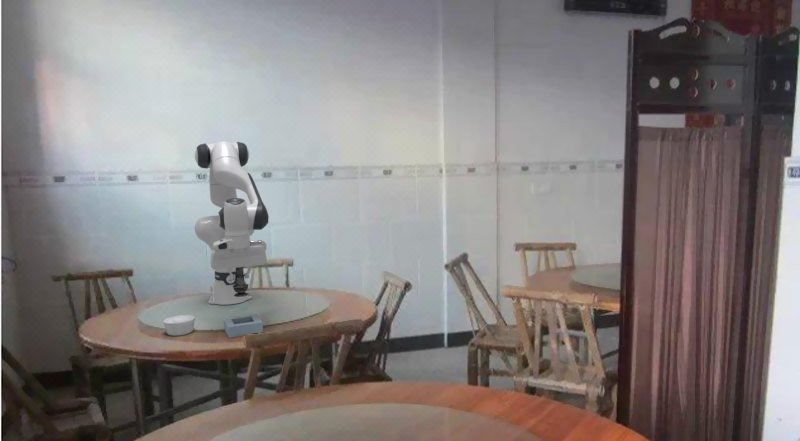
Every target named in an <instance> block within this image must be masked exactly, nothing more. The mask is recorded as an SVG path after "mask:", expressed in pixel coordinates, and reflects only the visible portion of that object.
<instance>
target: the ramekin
mask: <svg viewBox="0 0 800 441" xmlns="http://www.w3.org/2000/svg"><path fill="white" fill-rule="evenodd" d="M195 321H196V317H195V316H194V315H191V314H180V315H179V314H178V315H173V316H170V317H167V318H164V320H163V321H162V322H163V325H164V328H165V331H166V334H167V335H168V336H174V337H175V336H177V337H178V336H184V335H188V334H191V333H192V332H193V331H194V329H195V328H194V327H195Z"/></svg>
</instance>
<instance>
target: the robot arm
mask: <svg viewBox="0 0 800 441" xmlns="http://www.w3.org/2000/svg"><path fill="white" fill-rule="evenodd" d="M249 158H250V151H249V148H248V147H247V145H246V144H245V143H244V142H241V141H239V142H238V141H236V142H233V141H226V140H222V141H219V142H210V143H201V144H199V145H197V147H196V149H195V152H194V159H195V163H197V166H198V167H199V168H200V169H206V170H207V169H209V171H208V172H209V174H208V175H209V176H208V177H209V179H208V181H209V198H210V201H211V203H212V204H213V205H214V206H216V207H219V208H220V210H219V211H218V212H217V213H218V215H208V216H203V217H200V218H198V219H197V220H196V222H195V226H194V233H195V235H196V237H197V238H198V239H199V240H201V241H202V242H203V243H205V244H206V245H207V246H208V247H209V248H210V250H211V252H210V254H211V255H210V268H211V269H212V270H214V280H215V281H214V282H213V284H212V285H211V286H210V288H209V290H210V292H211V294H210V297H209V299H208V304H209V305H211V304H212V305H221V306H225V305H226V306H227V305H235V304H236V305H237V304H240V303H244V302H246V301H247V300H251V299H252V298H253V297H252V295H250V294H248V295H247V296H242V297H236V296H234V295H235V294H236V293H237V292H235V291H234V288H233V285H235V284H236V277H235V276H236V268H238V267H243V268H244V267H245V268H246V269H247V270H246V272H244V275H245V276H244V281H245V283H246V284H247V281H246V280H245V279H250V273H251V271H252V267H256V266H264V265H266V264H267V262H268V259H267V254H266V251H267V243H266V242H265V241H264V240H263V241H262V240H261V239H260V240H251V239H250V238H251V236H252V235H253V234H254V233H255V231H256V230H257V231H260V230H263V229H264V228H266V226H267V225H268V224H269V219H270V218H269V212H268V210H267V208H266V205H265V203H264V201H263V200H262V198H261V195H260V192H259V190H258V187H257V185H256V182H255V180H254V179H253V178H254V177H253V176H252V174H251V173H249V172H248V171H246V170H244V168H243V167H245V166H246V165H247V164H248V162H249ZM237 190H239V191H241V192H244V193H245V194H246V195H247V196H246V197H247V198H248V201H249V203H250V204H247V201H246V199H244V198H242V197H241V198H240V197H238V195H237ZM246 293H248V290H247V291H246Z"/></svg>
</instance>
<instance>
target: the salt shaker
mask: <svg viewBox="0 0 800 441" xmlns="http://www.w3.org/2000/svg"><path fill="white" fill-rule="evenodd" d="M244 273H245V272H244V267H238V268H236V276H235V277H236V284H235V285H233V288H234V291H235V292H237V293H236V294H235V295H234V296H236V297H242V296H247V295H249V293H248V289H249V284H248V283H247V282H246V283H245V281H246V280H245V277H244V276H245V275H244ZM244 280H245V281H244ZM246 291H247V293H246Z"/></svg>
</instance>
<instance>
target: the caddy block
mask: <svg viewBox="0 0 800 441" xmlns="http://www.w3.org/2000/svg"><path fill="white" fill-rule="evenodd" d="M224 328H225V329H224ZM223 329H224V331H225V333H226V335H227V337H228V339H229V338H237V337H242V336H244V337H245V336H246V335H245V334H251V333H258V334H260V333H259V332H263V333H264V322H263V321H262V320H261V318H260V316H259V315H258V314H257V313H254V314H247V315H239V316H233V317H225V318H223ZM251 335H252V334H251Z"/></svg>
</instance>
